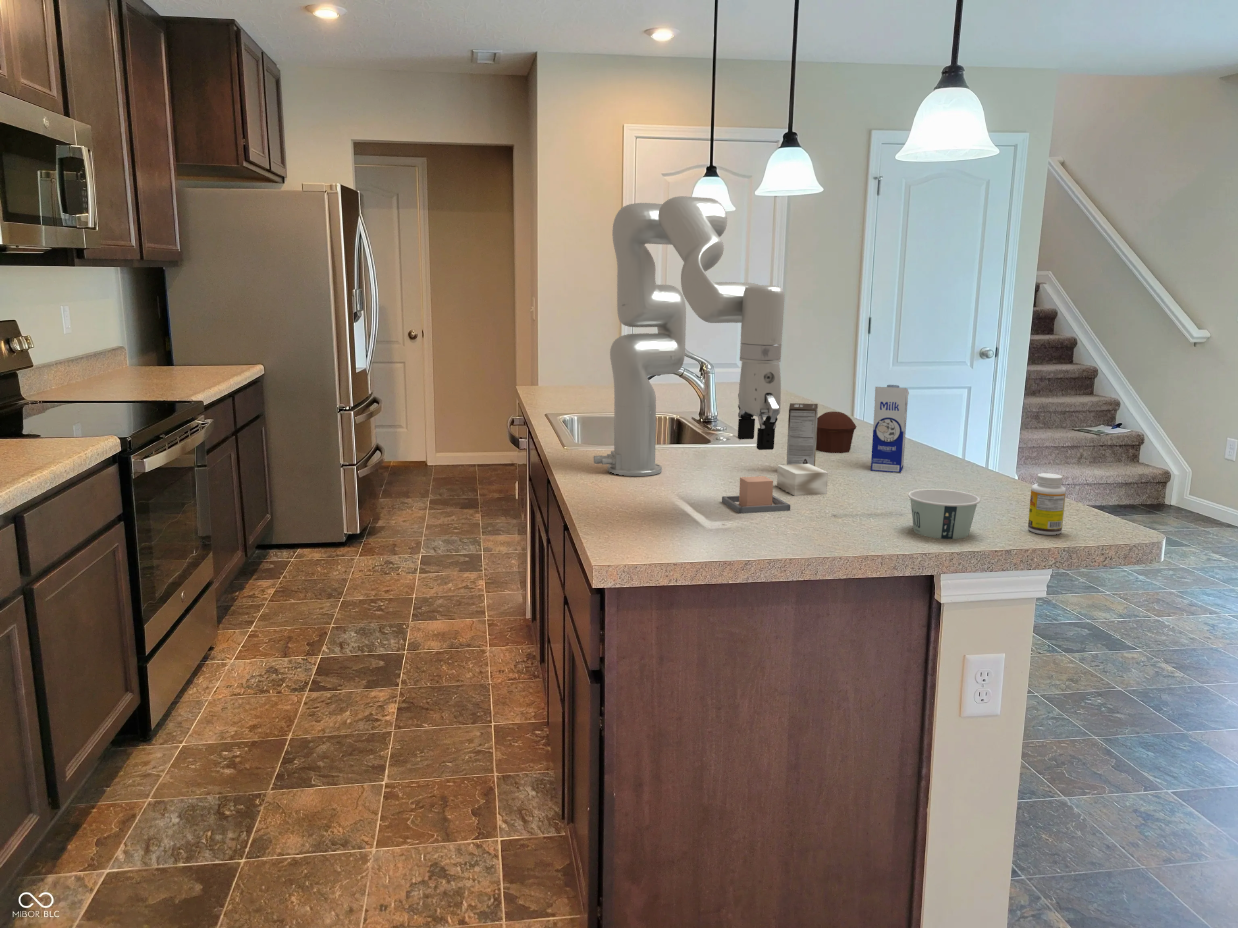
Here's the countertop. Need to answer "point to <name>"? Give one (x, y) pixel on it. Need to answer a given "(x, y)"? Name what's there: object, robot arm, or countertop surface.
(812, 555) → the countertop surface
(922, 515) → the food container
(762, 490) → the block
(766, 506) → the tray
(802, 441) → the coffee box
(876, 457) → the milk carton
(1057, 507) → the supplement bottle
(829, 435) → the muffin
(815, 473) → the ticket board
